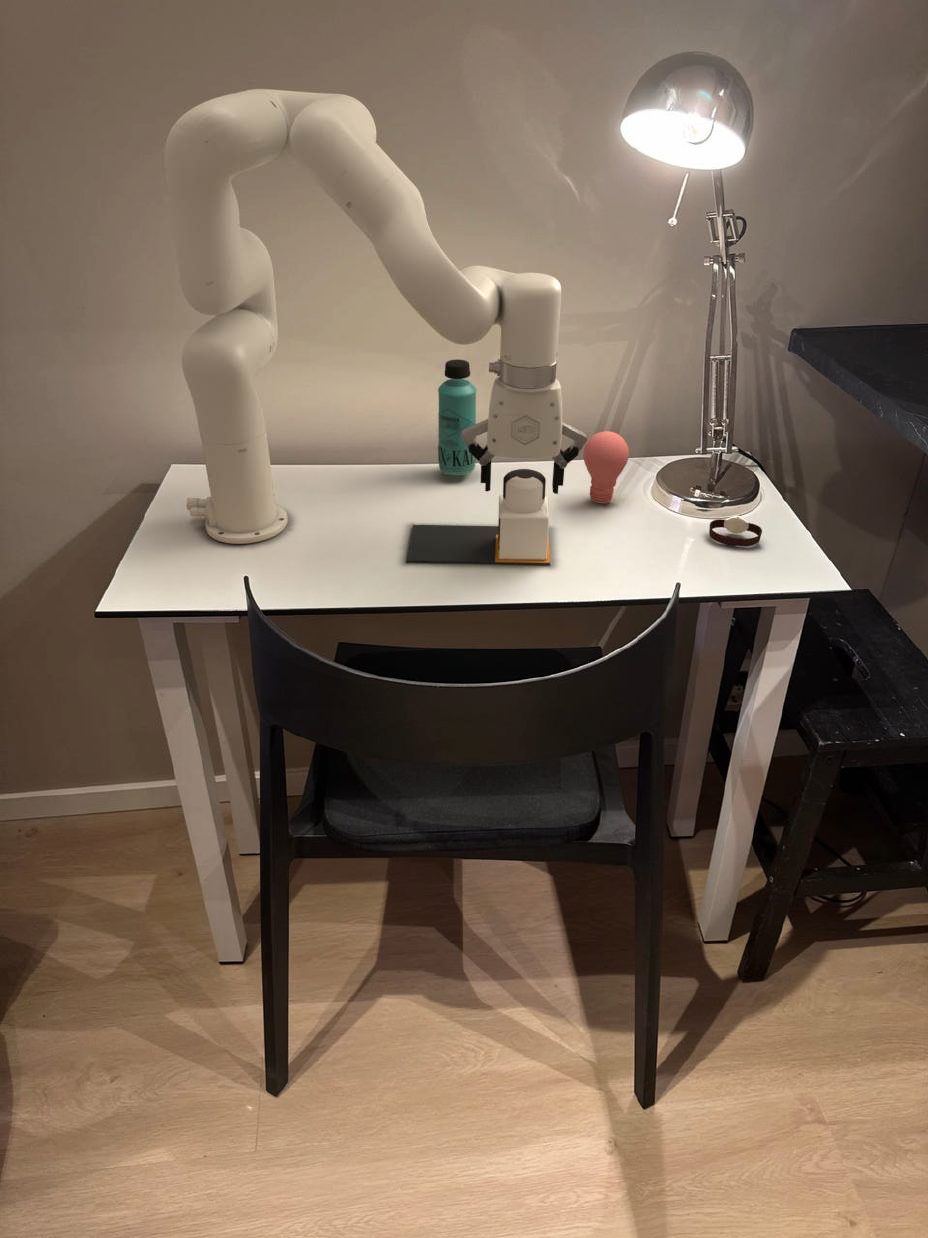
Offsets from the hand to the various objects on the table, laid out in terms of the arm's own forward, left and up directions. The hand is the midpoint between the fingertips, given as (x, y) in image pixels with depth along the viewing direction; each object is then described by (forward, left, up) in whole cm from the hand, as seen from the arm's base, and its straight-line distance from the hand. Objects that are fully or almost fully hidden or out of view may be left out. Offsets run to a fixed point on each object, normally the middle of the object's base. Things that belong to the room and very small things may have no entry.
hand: (521, 488), depth 137 cm
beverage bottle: (-11, +25, -11) cm, 29 cm away
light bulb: (+13, +16, -11) cm, 24 cm away
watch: (+32, +4, -11) cm, 34 cm away
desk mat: (-6, +1, -10) cm, 12 cm away
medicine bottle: (0, 0, -10) cm, 10 cm away
